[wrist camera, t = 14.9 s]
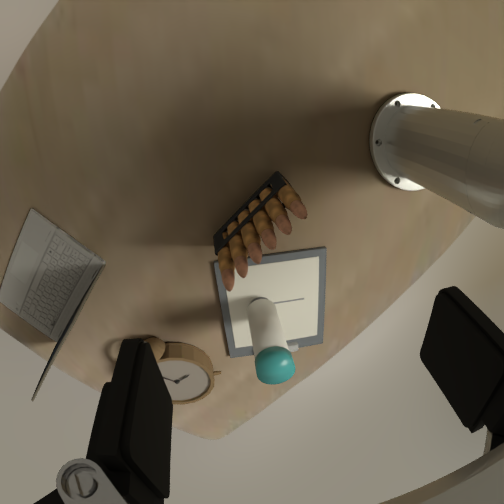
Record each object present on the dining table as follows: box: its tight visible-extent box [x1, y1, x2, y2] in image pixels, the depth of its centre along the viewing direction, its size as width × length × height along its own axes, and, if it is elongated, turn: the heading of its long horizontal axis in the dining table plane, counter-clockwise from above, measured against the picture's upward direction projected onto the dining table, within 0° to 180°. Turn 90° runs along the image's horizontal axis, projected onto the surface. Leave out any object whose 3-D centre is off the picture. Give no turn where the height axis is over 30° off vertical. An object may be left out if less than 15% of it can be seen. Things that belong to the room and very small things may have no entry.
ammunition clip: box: [213, 171, 307, 292], centre depth 32 cm, size 11×2×12 cm, turn 136°
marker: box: [247, 297, 295, 384], centre depth 37 cm, size 4×4×12 cm
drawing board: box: [214, 247, 326, 358], centre depth 43 cm, size 14×16×1 cm
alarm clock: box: [144, 337, 221, 404], centre depth 45 cm, size 11×5×15 cm
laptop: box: [0, 208, 106, 401], centre depth 32 cm, size 18×12×13 cm
